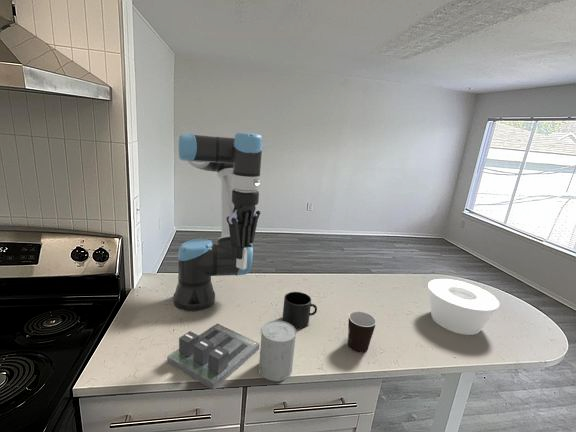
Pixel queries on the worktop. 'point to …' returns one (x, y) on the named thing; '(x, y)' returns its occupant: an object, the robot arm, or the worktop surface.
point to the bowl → (460, 305)
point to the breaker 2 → (203, 350)
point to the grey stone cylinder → (277, 350)
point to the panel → (220, 336)
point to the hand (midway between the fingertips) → (241, 267)
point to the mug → (297, 309)
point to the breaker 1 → (188, 343)
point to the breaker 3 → (218, 359)
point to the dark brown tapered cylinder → (360, 331)
